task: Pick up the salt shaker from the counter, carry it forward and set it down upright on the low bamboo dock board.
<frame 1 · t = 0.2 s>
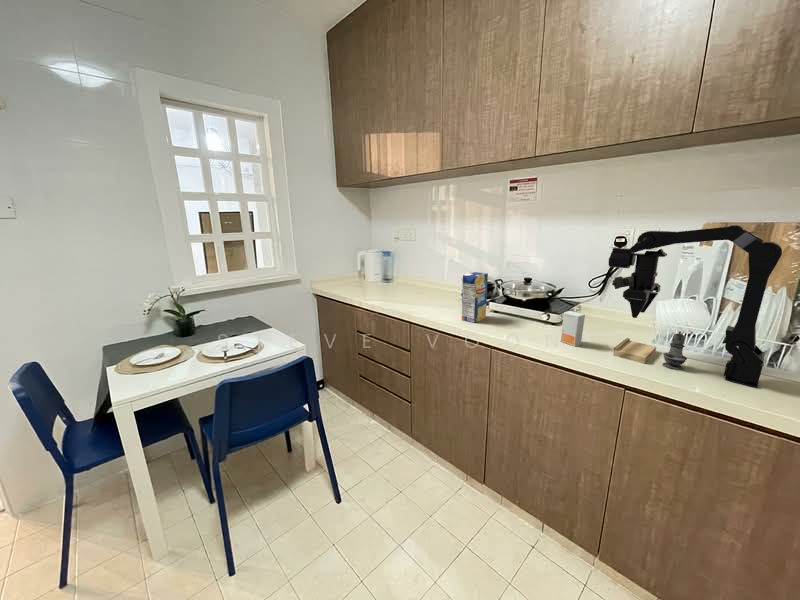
hand: (638, 314, 108), 14 cm above the worktop, fingers open, 9 cm apart
beverage box: (473, 319, 153), on the worktop
salt shaker: (672, 367, 101), on the worktop
skincare box: (570, 343, 121), on the worktop
dock: (634, 353, 111), on the worktop
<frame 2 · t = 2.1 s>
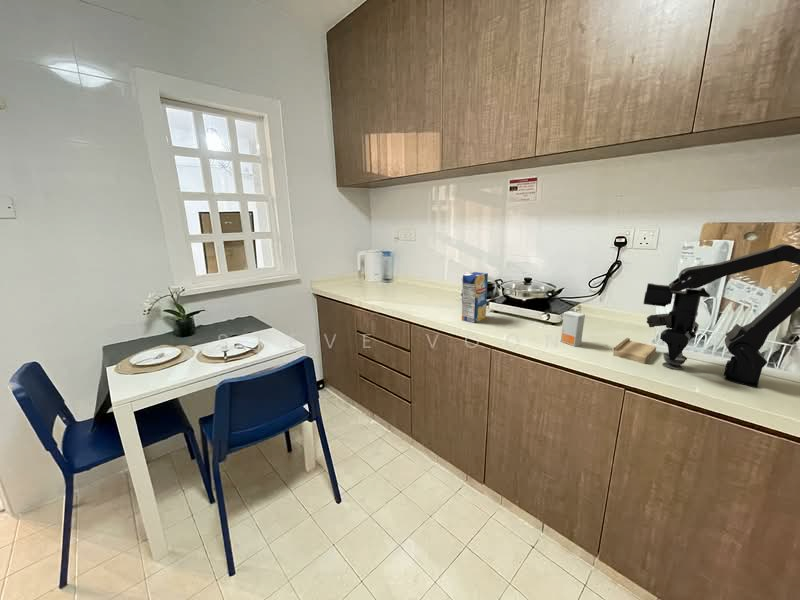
hand: (674, 356, 100), 4 cm above the worktop, fingers closed on salt shaker, 8 cm apart
salt shaker: (672, 367, 101), on the worktop, touching gripper
everything else where it was.
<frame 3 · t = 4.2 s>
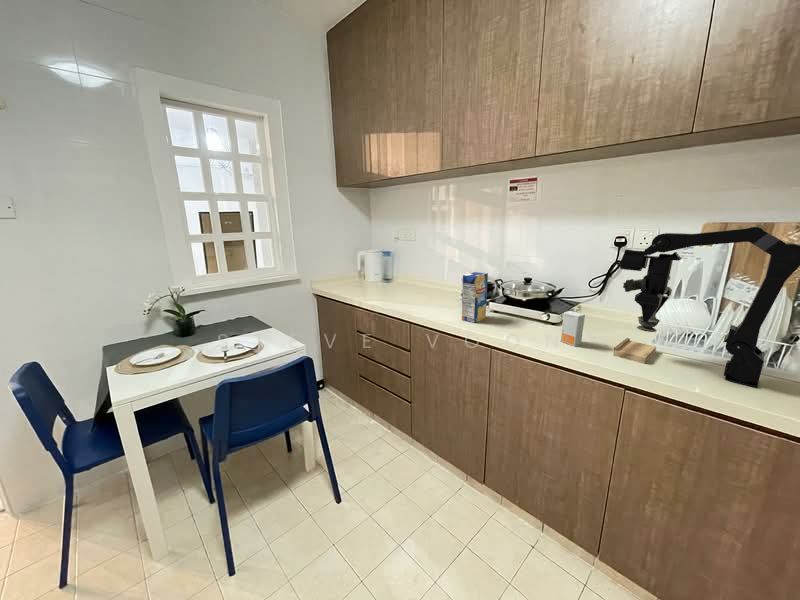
hand: (648, 319, 105), 13 cm above the worktop, fingers closed on salt shaker, 8 cm apart
salt shaker: (646, 329, 106), point 10 cm above the worktop, touching gripper
everything else where it was.
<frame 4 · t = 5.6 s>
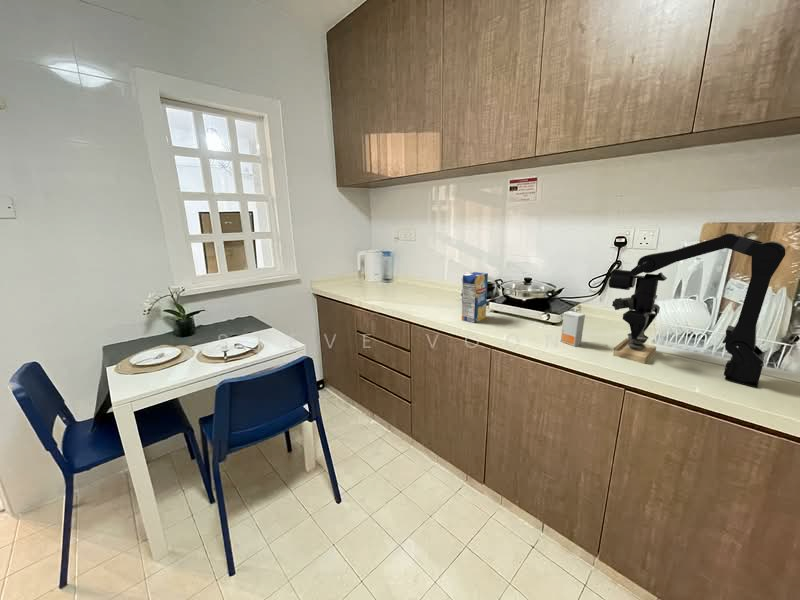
hand: (637, 336, 109), 7 cm above the worktop, fingers closed on salt shaker, 8 cm apart
salt shaker: (636, 346, 110), point 3 cm above the worktop, touching gripper
everything else where it was.
when the fingers open (6 cm above the worktop, at t = 6.7 s): salt shaker stays where it is, resting on dock.
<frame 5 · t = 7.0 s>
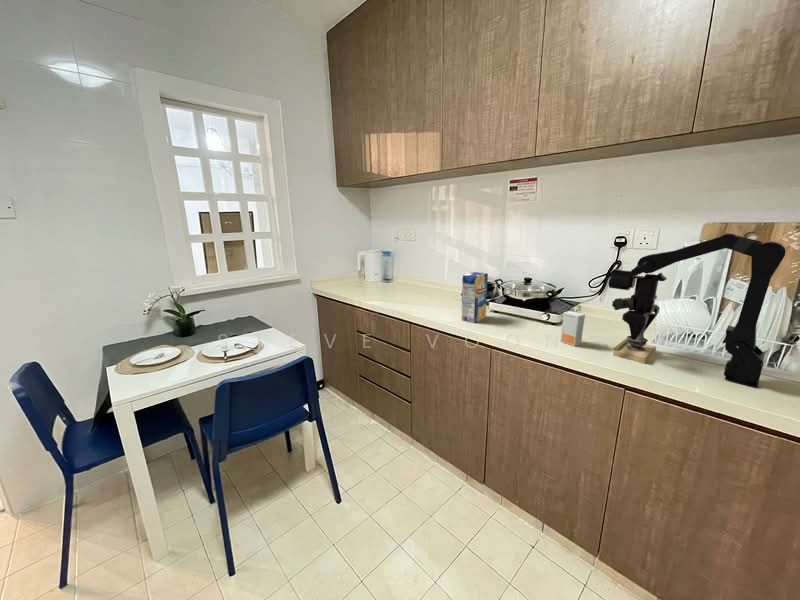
hand: (637, 336, 109), 6 cm above the worktop, fingers open, 9 cm apart
salt shaker: (635, 348, 110), point 2 cm above the worktop, touching dock
everything else where it was.
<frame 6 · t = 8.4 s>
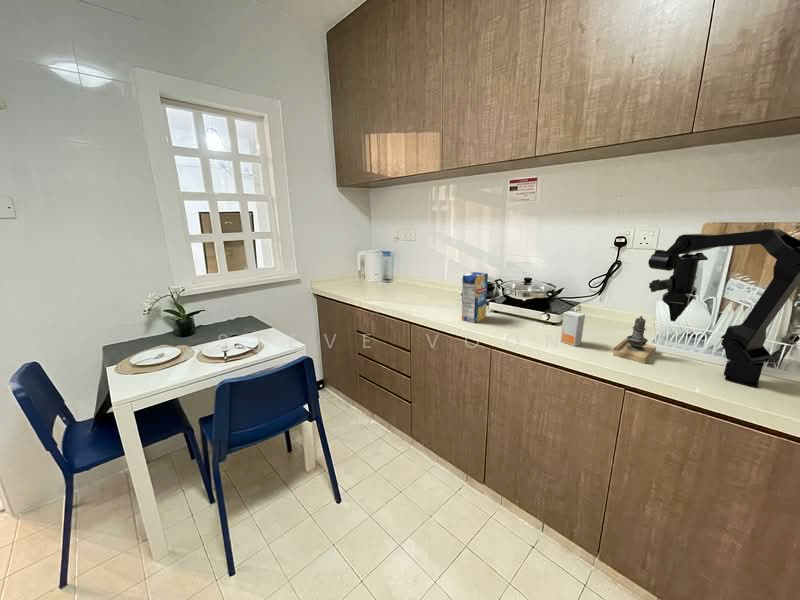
hand: (675, 318, 107), 13 cm above the worktop, fingers open, 9 cm apart
nothing on the worktop moved.
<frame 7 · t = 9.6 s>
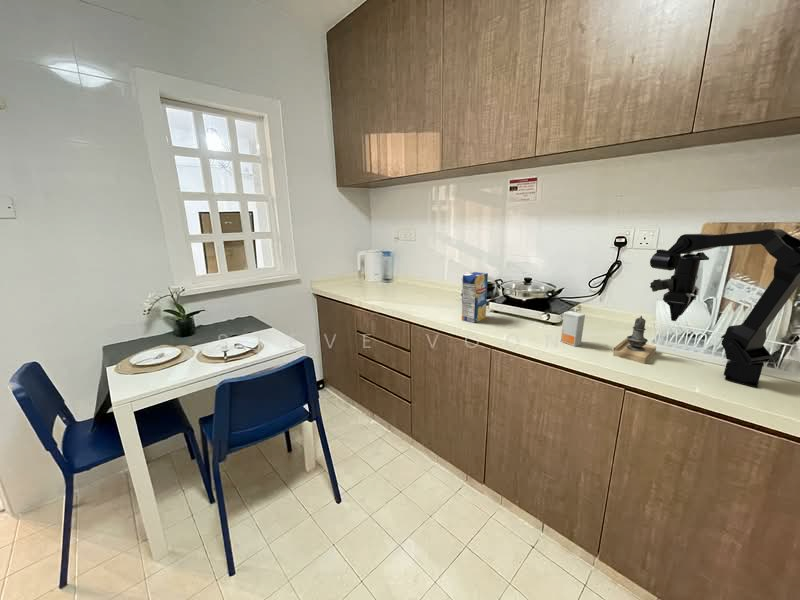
hand: (676, 317, 107), 13 cm above the worktop, fingers open, 9 cm apart
nothing on the worktop moved.
at the end: salt shaker inside the target area on the dock (0.1 cm from its centre), point 1.8 cm above the dock's base; salt shaker tilted 0°; the gripper is holding nothing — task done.
